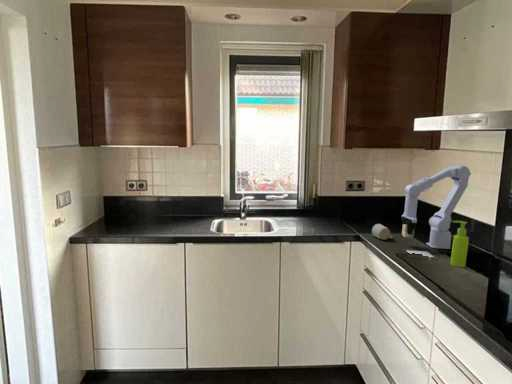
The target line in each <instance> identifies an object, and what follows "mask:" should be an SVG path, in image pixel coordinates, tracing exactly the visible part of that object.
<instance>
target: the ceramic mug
mask: <svg viewBox="0 0 512 384" xmlns="http://www.w3.org/2000/svg"><path fill="white" fill-rule="evenodd" d="M371 233H372V236H373V237H376V238H377V239H379V240H383V241H386V240H388V239H391V240H392V239H393V235H392V234H391V230H390V229H389V228H388V227H387V226H384V225H383V224H381V223H376V224H374V225H373V226H372V229H371Z"/></svg>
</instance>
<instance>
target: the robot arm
mask: <svg viewBox="0 0 512 384" xmlns="http://www.w3.org/2000/svg"><path fill="white" fill-rule="evenodd" d="M471 175H472V173H471V171H470V169H469V167H468V166H465V165H456V164H451V165H449V166H446V167H445V168H444V169H442V170H440V171H439V172H437V173H436V174H434V175H432V176H430V177H427V176H426V177H421V179H420V180H417V181H414V182H412V184H411V183H409V184H408V185H406V187H404V189H403V192H404V193H405V201H404V210H403V211H404V212H403V213H402V215H401V221H402V225H403V224H407V233H408V234H413V231H414V232H415V229H416V227H417V225H418V219H417V208H418V198H419V196H420V195H421V193H423V192H425V191H426V190H427V191H428V189H431V188H432V187H433V184H435V183H437V182H440V181H442V180H444V179H446V178H450V179H451V180H452V181H453V187H452V189H451V191H450V192H449V193H448V195H447V197H446V199H445V200H444V202H443V204H442V206H441V208H440V209H439V211H437V212H435V213H434V214H433V216H431V217H430V218H429V220H428V224H429V226H430V233H429V241H428V242H426V243H425V244H426V245H427V246H429V247H430V248H432V249H443V250H444V249H445V250H448V249H449V250H452V247H451V242H452V233H451V232H450V230H449V229H450V227H451V223H452V216H451V215H452V213H453V211H454V210H455V209H456V206H457V205H458V203H459V202H460V200H461V198H462V197H463V195H464V193H465V191H466V189H467V187H468V186H469V178H470V176H471Z"/></svg>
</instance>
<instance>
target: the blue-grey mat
mask: <svg viewBox="0 0 512 384" xmlns="http://www.w3.org/2000/svg"><path fill="white" fill-rule="evenodd" d="M405 250H406V251H407V252H408V253H410V254H412V253H415V254H422V255H423V256H428V257H430V258H431V257H435V256H434V255H432V254H431V253H430V252H428V251H424V250H423V251H421V250H409V249H408V250H407V249H405Z"/></svg>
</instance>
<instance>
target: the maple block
mask: <svg viewBox="0 0 512 384" xmlns="http://www.w3.org/2000/svg"><path fill="white" fill-rule="evenodd" d="M401 236H402V237H404V238H409V239H410V238H411V239H412V238H414V236H415V230H414V231H413V234H408V233H407V224H403V223H402V229H401Z"/></svg>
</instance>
